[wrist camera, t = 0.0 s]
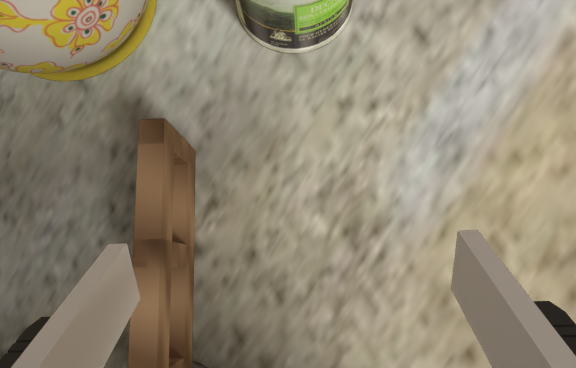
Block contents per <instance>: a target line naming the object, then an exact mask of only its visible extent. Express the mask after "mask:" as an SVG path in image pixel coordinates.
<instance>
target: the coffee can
mask: <svg viewBox="0 0 576 368" xmlns="http://www.w3.org/2000/svg"><path fill="white" fill-rule="evenodd" d="M235 1H236V5H237V11H238V15H239V18H240V21H241V23H242V25H243V27H244V29H245V31H246V32H247V33H248V34H249V35H250V36H251V37H252V38H253V39H254V40H255V41H257V42H258V43H259V44H261V45H263V46H265V47H267V48H269V49H271V50H274V51H278V52H282V53H303V52H308V51H312V50H315V49H317V48H320V47H322V46H324V45H326V44H328V43H329V42H330V41H332V40H333V39H334V38H335V37H336V36H337V35H339V33H340V32H341V31H342V30H343V29H344V27H345V26H346V24H347V22H348V20H349V18H350V15H351V12H352V8H353V0H235Z"/></svg>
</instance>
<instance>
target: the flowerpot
mask: <svg viewBox="0 0 576 368" xmlns="http://www.w3.org/2000/svg"><path fill="white" fill-rule="evenodd" d="M156 1H157V0H0V69H5V70H9V71H15V72H22V73H30V74H32V75H34V76H37V77H40V78H43V79H48V80H54V81H75V80H82V79H86V78H90V77H93V76H96V75H98V74H101V73H103V72H105V71H107V70H109V69H111V68H113V67H114V66H116V65H118V64H119V63H120V62H122V61H123V60H124V59H126V58H127V57H128V56H129V55H130V54H131V53H132V52H133V51H134V50H135V49H136V48H137V47H138V45H139V44H140V43H141V41H142V40H143V38H144V37H145V35H146V34H147V32H148V30H149V28H150V26H151V23H152V20H153V18H154V14H155V9H156Z"/></svg>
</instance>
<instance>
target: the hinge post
mask: <svg viewBox="0 0 576 368" xmlns="http://www.w3.org/2000/svg"><path fill="white" fill-rule="evenodd" d="M192 368H206V367H204V366H202V365H200V364H198V363H194V362H192Z"/></svg>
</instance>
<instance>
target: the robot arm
mask: <svg viewBox="0 0 576 368" xmlns="http://www.w3.org/2000/svg"><path fill="white" fill-rule="evenodd" d="M451 290H452V292H453V293H454V295H455V297H456V299H457V301H458V303H459V305H460V307H461V309H462V311H463V313H464V314H465V316H466V318H467V320H468V322H469V324H470V326H471V328H472V330H473V332H474V334H475V335H476V337H477V339H478V341H479V343H480V345H481V347H482V349H483V351H484V353H485V355H486V356H487V358H488V360H489V362H490V364H491V366H492V368H576V324H575V323H574V322H573V320H572V319H571V318H570V317H569V316H568V315H567V313H566V312H565V311H563V310H562V309H560V308H559V307H557V306H556V305H554V304H553V303H551V302H550V301H534V302H533V300H532V299H531V298H530V297H529V295H528V294H527V293H526V291H525V290H524V289H523V288H522V286H521V285H520V284H519V282H518V281H517V280H516V279H515V277H514V276H513V275H512V273H511V272H510V271H509V269H508V268H507V267H506V266H505V264H504V263H503V262H502V260H501V259H500V258H499V257H498V255H497V254H496V253H495V251H494V250H493V249H492V248H491V246H490V245H489V244H488V242H487V241H486V240H485V239H484V237H483V236H482V235H481V233H480V232H479V231H478V230H463V231H458V233H457V241H456V250H455V258H454V267H453V275H452V283H451ZM139 300H140V294H139V290H138V286H137V282H136V278H135V274H134V270H133V266H132V262H131V258H130V254H129V250H128V246H127V243H122V244H108V245H107V246H106V248H105V249H104V250H103V251H102V253H101V254H100V255H99V256H98V258H97V259H96V260H95V262H94V263H93V264H92V265H91V267H90V268H89V269H88V270H87V272H86V273H85V274H84V276H83V277H82V278H81V279H80V281H79V282H78V283H77V284H76V286H75V287H74V288H73V290H72V291H71V292H70V293H69V295H68V296H67V297H66V298H65V300H64V301H63V302H62V304H61V305H60V306H59V307H58V309H57V310H56V311H55V312H54V314H53V315H52V316H51V317H41V318H40V319H39V320H37V321H36V322H34V323H33V324H32V325H30V326H29V327H28V328H26V330H25V331H24V332H23V333H22V334H21V336H20V337H19V338H18V339H17V340H16V343H14V344H13V345H12V346H11V348H10V349H9V350H8V353H6V354H5V355H4V356H3V357H2V358H1V360H0V368H104V366H105V364H106V362H107V360H108V358H109V356H110V355H111V353H112V351H113V349H114V347H115V345H116V343H117V341H118V340H119V338H120V336H121V334H122V332H123V330H124V328H125V326H126V325H127V323H128V321H129V319H130V317H131V315H132V313H133V312H134V310H135V308H136V306H137V304H138V302H139Z"/></svg>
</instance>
